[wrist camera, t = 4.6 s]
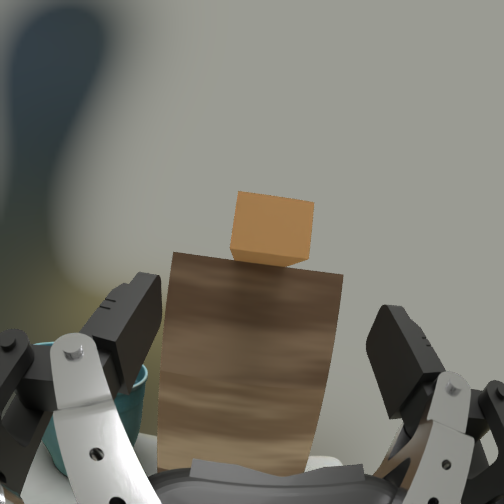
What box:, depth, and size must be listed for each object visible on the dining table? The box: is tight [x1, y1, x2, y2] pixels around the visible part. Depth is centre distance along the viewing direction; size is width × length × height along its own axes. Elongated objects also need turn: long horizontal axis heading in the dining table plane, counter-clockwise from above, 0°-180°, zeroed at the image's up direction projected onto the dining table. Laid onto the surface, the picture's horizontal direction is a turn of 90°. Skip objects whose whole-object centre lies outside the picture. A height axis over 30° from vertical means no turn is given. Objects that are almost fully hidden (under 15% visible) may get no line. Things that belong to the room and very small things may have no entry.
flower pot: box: [33, 342, 148, 477], centre depth 29 cm, size 18×18×17 cm
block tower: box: [157, 252, 343, 477], centre depth 27 cm, size 12×14×32 cm
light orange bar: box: [230, 191, 314, 267], centre depth 26 cm, size 23×4×3 cm, turn 2°
